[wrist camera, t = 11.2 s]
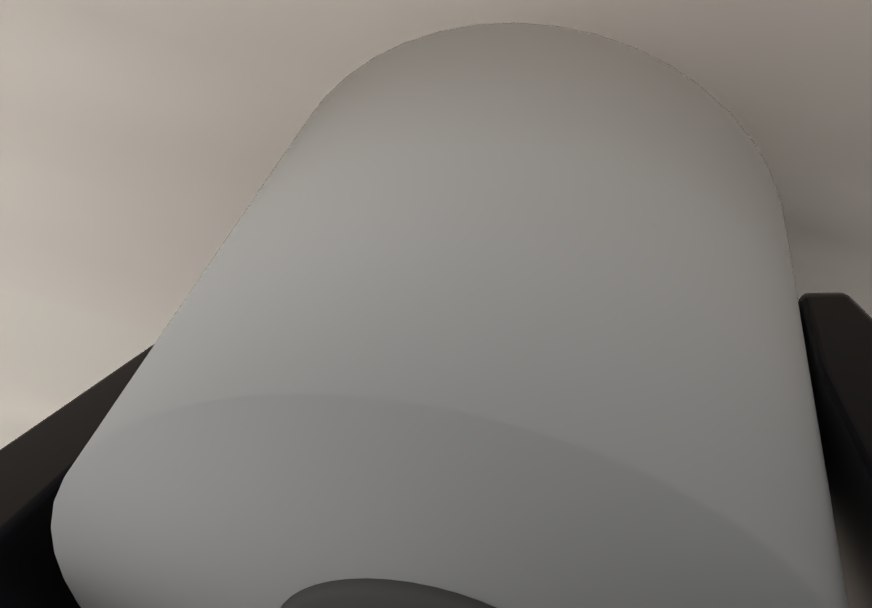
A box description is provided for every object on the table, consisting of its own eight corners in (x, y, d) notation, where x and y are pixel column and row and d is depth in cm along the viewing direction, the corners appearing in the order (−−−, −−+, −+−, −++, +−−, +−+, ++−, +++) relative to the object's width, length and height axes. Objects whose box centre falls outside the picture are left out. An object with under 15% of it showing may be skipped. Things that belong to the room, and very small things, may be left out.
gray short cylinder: (771, 439, 11) (822, 894, 7) (351, 425, 13) (213, 785, 9) (808, -13, 7) (951, 432, 3) (209, 54, 9) (-129, 400, 5)
